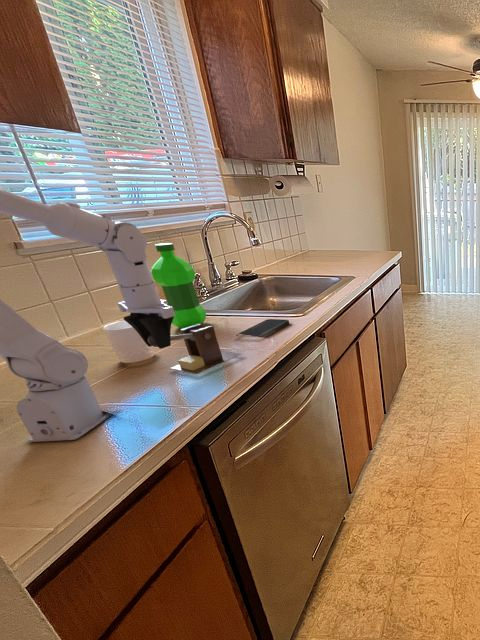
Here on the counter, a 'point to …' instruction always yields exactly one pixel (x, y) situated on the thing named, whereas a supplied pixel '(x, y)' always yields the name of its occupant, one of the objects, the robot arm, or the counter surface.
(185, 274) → the plastic bottle
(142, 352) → the white cup
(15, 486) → the counter surface
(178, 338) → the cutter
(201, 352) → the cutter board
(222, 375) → the counter surface
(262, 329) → the phone
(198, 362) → the butter
